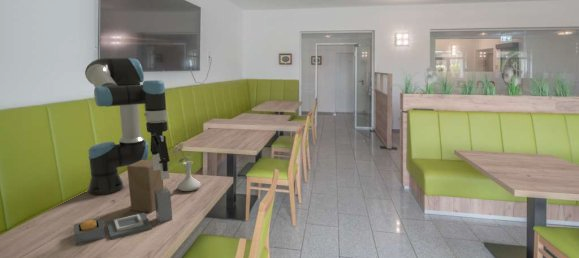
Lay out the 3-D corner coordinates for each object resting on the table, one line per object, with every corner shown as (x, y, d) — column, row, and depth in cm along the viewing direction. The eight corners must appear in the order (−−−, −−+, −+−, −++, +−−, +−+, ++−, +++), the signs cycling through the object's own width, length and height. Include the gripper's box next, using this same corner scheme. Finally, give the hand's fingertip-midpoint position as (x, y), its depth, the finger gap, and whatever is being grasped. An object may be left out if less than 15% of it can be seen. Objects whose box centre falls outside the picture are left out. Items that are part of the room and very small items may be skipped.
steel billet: (156, 218, 135) (154, 190, 133) (169, 215, 138) (167, 187, 136) (159, 222, 131) (157, 194, 129) (172, 219, 134) (170, 191, 132)
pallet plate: (106, 224, 130) (105, 218, 130) (144, 215, 138) (144, 210, 138) (110, 239, 119) (110, 233, 118) (152, 228, 127) (151, 223, 126)
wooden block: (151, 212, 140) (147, 167, 137) (130, 210, 142) (126, 165, 139) (165, 203, 150) (161, 160, 146) (145, 201, 152) (141, 159, 148)
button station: (75, 234, 122) (73, 224, 122) (102, 227, 127) (101, 218, 127) (75, 245, 115) (74, 234, 114) (105, 237, 120) (104, 227, 119)
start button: (81, 230, 122) (80, 222, 121) (96, 226, 124) (95, 218, 124) (81, 235, 117) (80, 227, 117) (97, 231, 120) (96, 224, 120)
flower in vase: (191, 183, 175) (188, 137, 170) (205, 187, 169) (203, 140, 164) (169, 190, 165) (166, 141, 160) (184, 196, 158) (181, 145, 153)
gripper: (139, 118, 135) (144, 168, 139) (153, 126, 115) (158, 185, 119) (159, 116, 139) (163, 165, 143) (175, 124, 119) (179, 181, 123)
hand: (161, 174), depth 131 cm, fingers open, 13 cm apart
